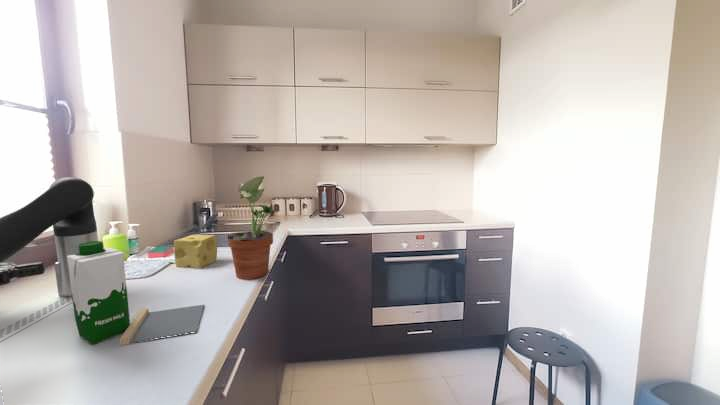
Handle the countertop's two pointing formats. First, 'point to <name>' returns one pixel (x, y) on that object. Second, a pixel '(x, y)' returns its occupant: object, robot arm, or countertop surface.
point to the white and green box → (99, 291)
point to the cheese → (195, 251)
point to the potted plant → (252, 238)
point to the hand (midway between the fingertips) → (44, 267)
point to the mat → (162, 324)
